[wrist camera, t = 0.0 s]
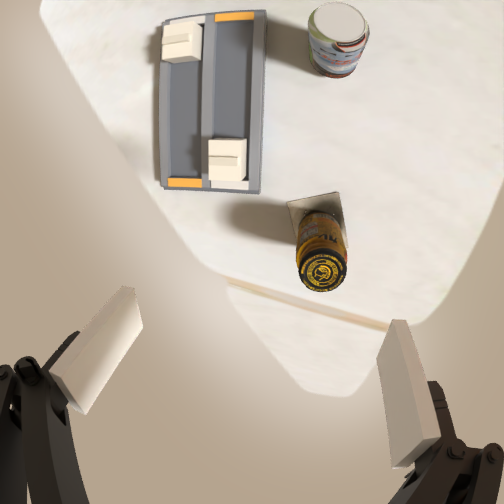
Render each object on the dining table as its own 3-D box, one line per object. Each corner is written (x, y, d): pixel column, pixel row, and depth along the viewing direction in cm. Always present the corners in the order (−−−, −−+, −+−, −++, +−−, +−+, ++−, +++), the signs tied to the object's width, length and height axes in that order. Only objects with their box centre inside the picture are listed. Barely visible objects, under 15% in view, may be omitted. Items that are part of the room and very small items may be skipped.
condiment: (300, 255, 43) (297, 303, 32) (287, 201, 39) (280, 235, 29) (348, 247, 41) (361, 293, 30) (338, 191, 37) (352, 221, 27)
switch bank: (169, 21, 30) (161, 17, 27) (266, 12, 28) (264, 6, 26) (167, 187, 41) (160, 191, 39) (260, 192, 39) (257, 196, 37)
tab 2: (217, 138, 36) (206, 140, 32) (247, 138, 35) (239, 141, 31) (216, 174, 38) (206, 181, 34) (246, 175, 37) (239, 182, 33)
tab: (175, 32, 29) (161, 24, 25) (202, 28, 29) (191, 19, 25) (173, 63, 31) (158, 58, 28) (201, 60, 31) (189, 54, 27)
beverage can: (319, 85, 31) (327, 69, 21) (298, 37, 29) (295, 5, 18) (364, 73, 30) (389, 55, 19) (342, 26, 27) (356, -9, 16)
